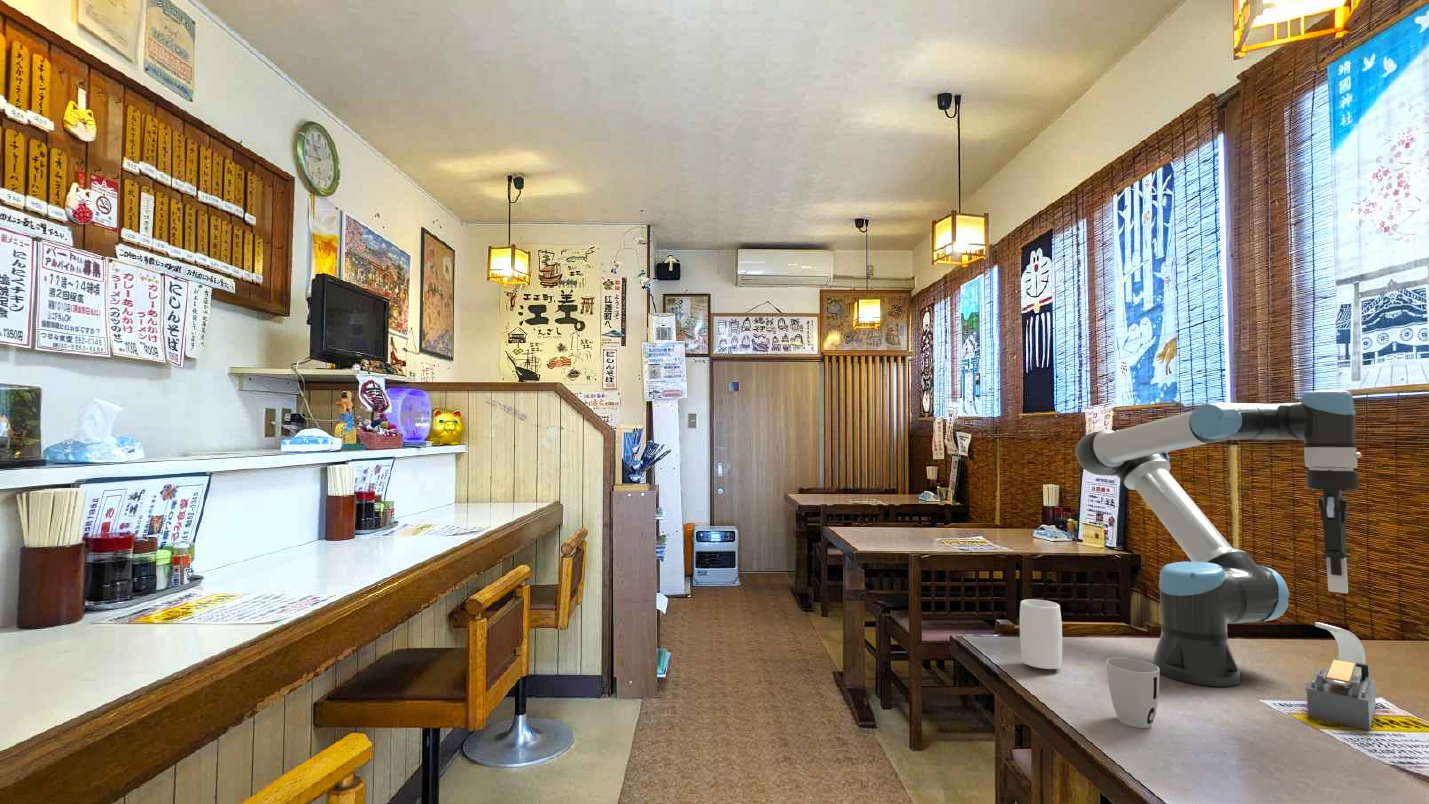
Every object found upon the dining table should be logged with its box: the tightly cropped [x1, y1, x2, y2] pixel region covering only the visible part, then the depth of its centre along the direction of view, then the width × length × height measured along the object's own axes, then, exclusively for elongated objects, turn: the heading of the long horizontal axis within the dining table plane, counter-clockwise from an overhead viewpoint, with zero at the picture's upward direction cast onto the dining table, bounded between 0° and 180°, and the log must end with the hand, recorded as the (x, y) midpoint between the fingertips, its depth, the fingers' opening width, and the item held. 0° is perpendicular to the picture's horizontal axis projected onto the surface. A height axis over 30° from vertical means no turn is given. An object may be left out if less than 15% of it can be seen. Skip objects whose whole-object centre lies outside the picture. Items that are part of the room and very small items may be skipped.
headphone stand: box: [1314, 622, 1366, 676], centre depth 137 cm, size 5×6×12 cm
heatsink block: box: [1306, 662, 1376, 731], centre depth 123 cm, size 16×8×8 cm, turn 132°
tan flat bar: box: [1326, 659, 1355, 683], centre depth 124 cm, size 13×3×1 cm, turn 132°
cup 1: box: [1019, 598, 1063, 670], centre depth 146 cm, size 8×8×14 cm
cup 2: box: [1105, 657, 1160, 729], centre depth 118 cm, size 8×8×10 cm
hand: (1338, 591), depth 127 cm, fingers closed
